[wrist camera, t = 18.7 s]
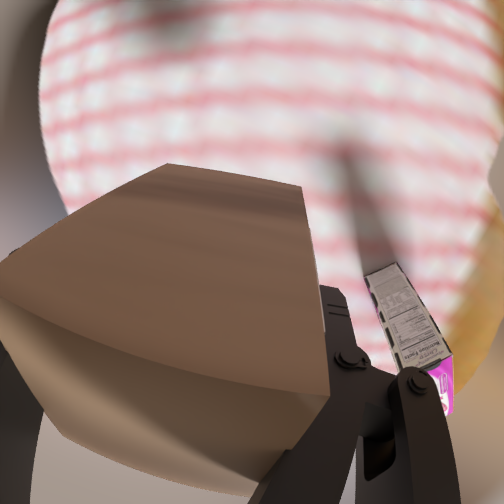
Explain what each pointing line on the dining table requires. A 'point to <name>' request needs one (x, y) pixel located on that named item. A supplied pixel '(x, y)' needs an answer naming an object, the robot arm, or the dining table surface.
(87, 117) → the dining table surface
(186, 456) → the walnut block
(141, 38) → the dining table surface
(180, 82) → the dining table surface
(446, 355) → the candy bar box
